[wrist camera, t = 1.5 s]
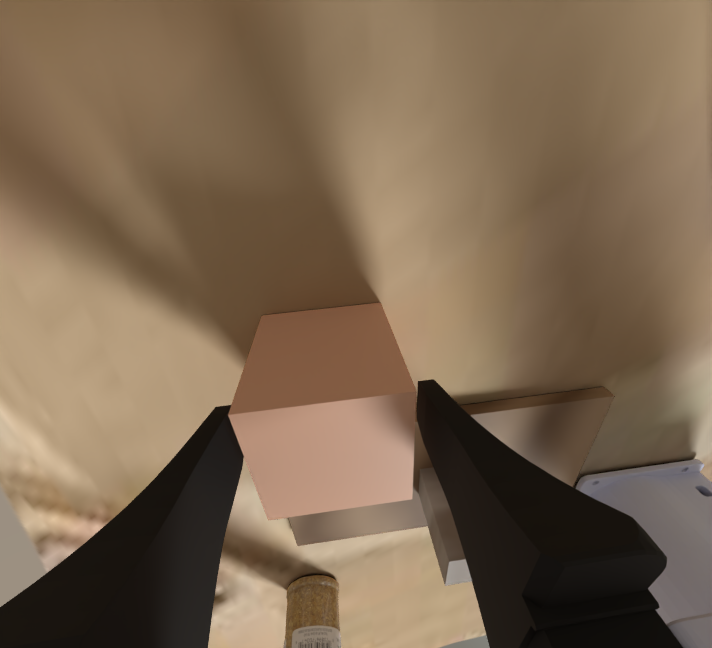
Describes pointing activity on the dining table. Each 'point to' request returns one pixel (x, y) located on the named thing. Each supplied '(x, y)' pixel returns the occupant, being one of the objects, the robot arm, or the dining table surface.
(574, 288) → the dining table surface
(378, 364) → the pink block
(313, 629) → the sprinkles bottle
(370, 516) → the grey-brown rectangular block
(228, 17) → the dining table surface
